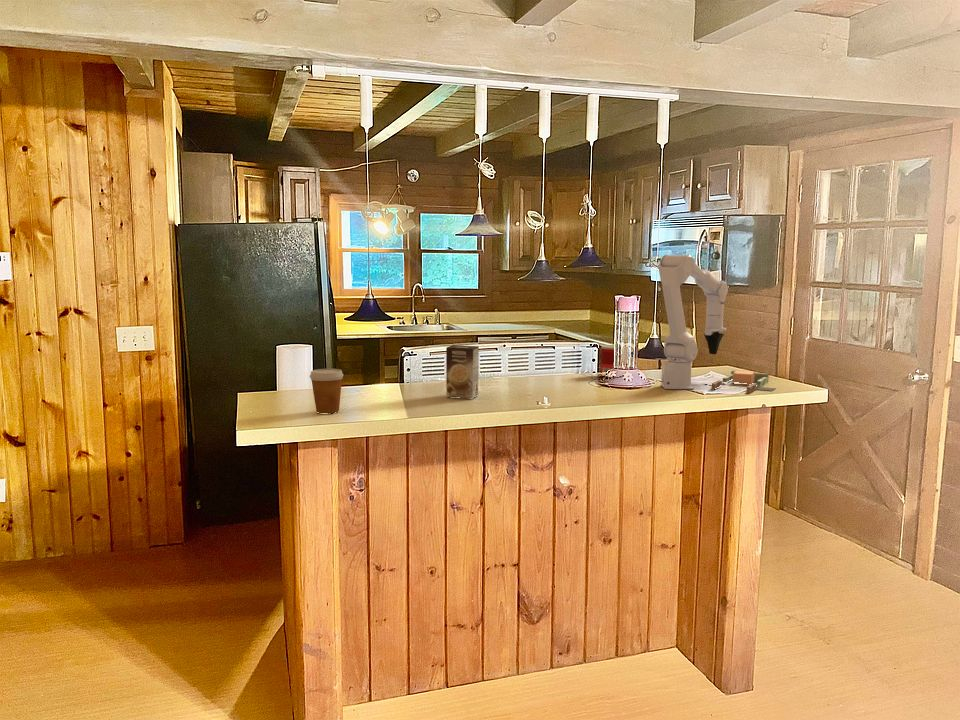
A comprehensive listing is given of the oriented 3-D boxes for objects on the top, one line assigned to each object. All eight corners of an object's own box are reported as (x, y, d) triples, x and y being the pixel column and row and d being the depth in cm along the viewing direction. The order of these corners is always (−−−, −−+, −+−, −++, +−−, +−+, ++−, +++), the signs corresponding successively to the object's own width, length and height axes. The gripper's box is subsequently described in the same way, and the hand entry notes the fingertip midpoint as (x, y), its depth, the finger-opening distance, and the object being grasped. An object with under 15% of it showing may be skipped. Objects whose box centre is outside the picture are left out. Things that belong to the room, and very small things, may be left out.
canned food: (624, 378, 274) (625, 347, 272) (602, 378, 274) (602, 347, 273) (621, 374, 282) (621, 344, 280) (599, 374, 282) (599, 344, 280)
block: (751, 386, 258) (751, 374, 257) (732, 384, 261) (733, 373, 260) (754, 383, 263) (754, 371, 263) (736, 382, 266) (736, 370, 265)
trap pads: (772, 391, 247) (772, 390, 247) (703, 384, 260) (703, 384, 260) (775, 388, 252) (775, 388, 252) (707, 382, 264) (707, 382, 264)
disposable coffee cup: (346, 408, 224) (345, 368, 222) (342, 415, 214) (341, 373, 213) (313, 409, 224) (312, 368, 222) (308, 416, 214) (306, 373, 212)
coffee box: (445, 398, 239) (444, 347, 236) (452, 394, 245) (451, 344, 242) (473, 399, 236) (472, 348, 234) (479, 396, 242) (479, 345, 240)
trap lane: (750, 393, 244) (750, 384, 244) (711, 389, 251) (711, 380, 250) (768, 382, 264) (768, 373, 263) (731, 379, 271) (732, 370, 270)
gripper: (720, 317, 256) (718, 357, 258) (732, 313, 268) (730, 352, 270) (699, 316, 260) (697, 355, 262) (712, 313, 272) (710, 350, 274)
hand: (713, 353), depth 267 cm, fingers closed
